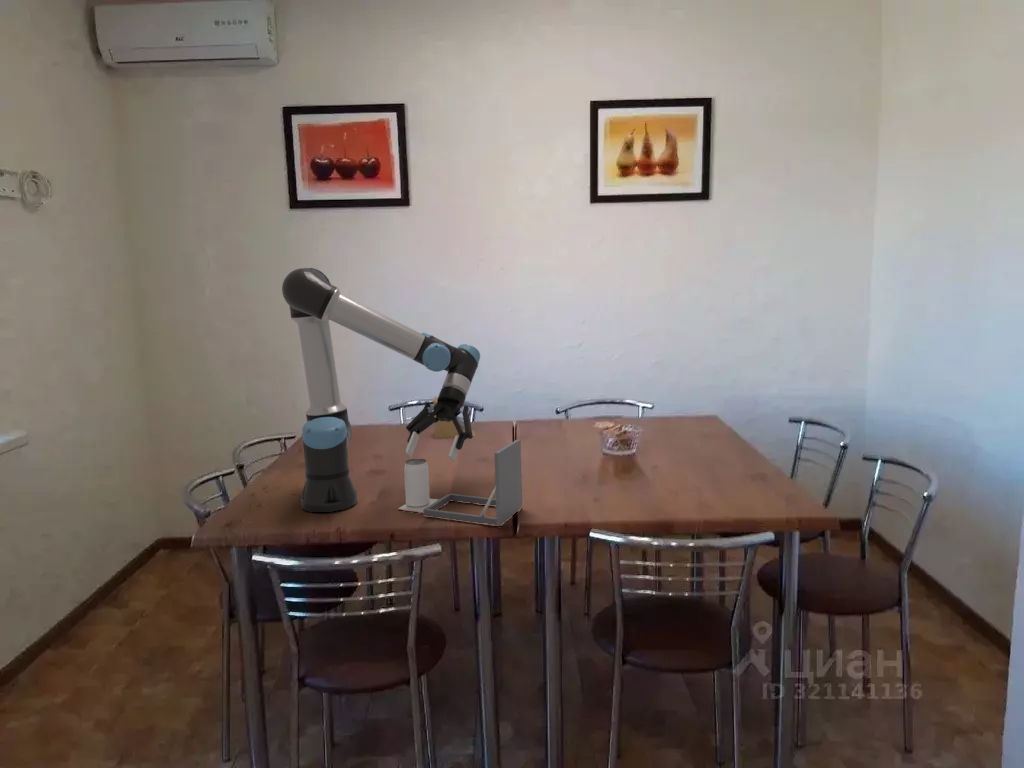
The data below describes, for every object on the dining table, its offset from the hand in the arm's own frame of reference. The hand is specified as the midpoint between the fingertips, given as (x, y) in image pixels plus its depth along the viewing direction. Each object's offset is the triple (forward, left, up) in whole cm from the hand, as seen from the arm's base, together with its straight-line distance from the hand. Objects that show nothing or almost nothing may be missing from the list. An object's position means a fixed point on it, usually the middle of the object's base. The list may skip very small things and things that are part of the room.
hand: (429, 456), depth 194 cm
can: (-2, -4, -13) cm, 13 cm away
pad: (-1, -4, -13) cm, 14 cm away
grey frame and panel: (+15, -4, -13) cm, 20 cm away
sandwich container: (-30, +71, -13) cm, 78 cm away
